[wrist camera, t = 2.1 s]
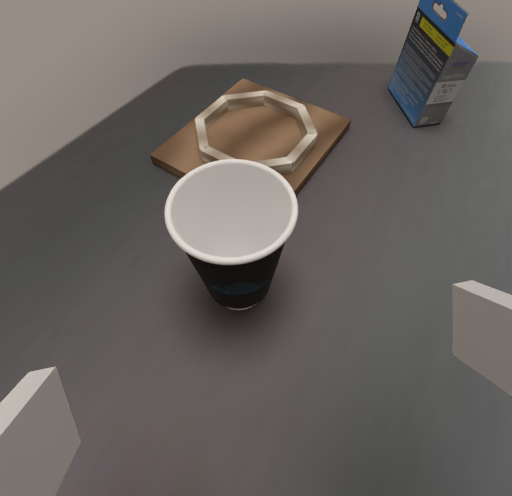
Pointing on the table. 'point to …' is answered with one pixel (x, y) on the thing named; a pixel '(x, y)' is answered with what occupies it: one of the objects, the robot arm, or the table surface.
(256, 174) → the dixie cup
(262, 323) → the table surface
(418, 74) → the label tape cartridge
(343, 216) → the table surface
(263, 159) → the board
